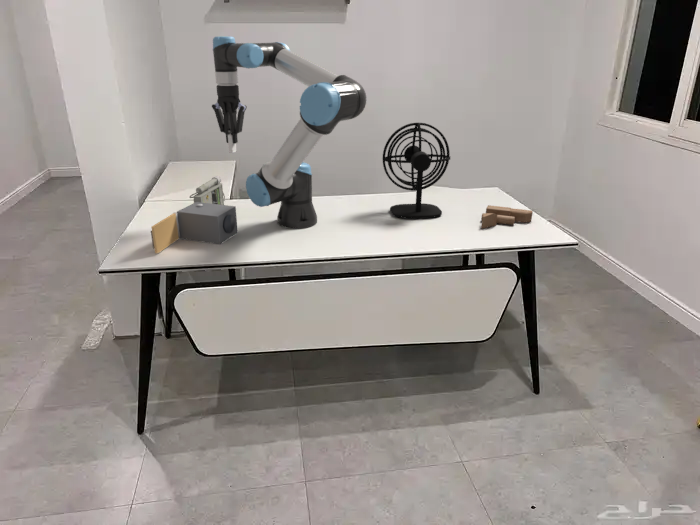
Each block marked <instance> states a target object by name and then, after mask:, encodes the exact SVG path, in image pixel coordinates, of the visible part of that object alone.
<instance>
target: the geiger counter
mask: <svg viewBox="0 0 700 525" xmlns="http://www.w3.org/2000/svg"><path fill="white" fill-rule="evenodd" d="M189 199H193V203H195V202H202V203H210V204H219V205H225V202H226V196H225V193H224V188H223V183H222V178H221V177H220V176H219V175H215V176H213V177H212V178H211V179H210V180H208V181H206V182H205V183H203V184H202V185H199V186H197V187H196V189H195V193H192V194H191V195H189Z"/></svg>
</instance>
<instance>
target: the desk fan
mask: <svg viewBox="0 0 700 525" xmlns="http://www.w3.org/2000/svg"><path fill="white" fill-rule="evenodd" d="M413 126H414V127H413ZM422 126H425V127H429V128H431V129H433V130H434V131H436V132H437V133H438V134H439V136H440V137H441V138H442V140H443V141H444V144H443V142H442V141H441V139H440V138H439V137H438V136H437V135H436V134H435V133H433V132H432V131H430V130H428V129H426V128H423V127H422ZM409 127H412V128H409ZM402 130H403V131H402ZM417 132H418V135H417ZM422 133H427V134H430V135H431V136H432V137H433V138H434V139H435V140H436V142H437V143H438V147H439V151H440V153H438V151H437V148H436V147H435V146H434V145H433V144H432V143H431V142H429V141H428V140H427V139H426V138H424V137H422ZM409 134H413V135H412V136H411V135H409ZM407 135H409V136H408V137H406V136H407ZM404 137H405V138H404ZM403 138H404V139H403ZM411 138H412V141H410V142H408V143H407V144H406V145H405V146H404V147H403V148H402V150H401V151H400V154H397V153H398V149H399V148H400V146H401V145H402V144H403V143H404V142H405V141H407V140H408V139H411ZM416 138H418V139H416ZM401 139H403V140H401ZM399 141H400V142H399ZM416 142H418V146H417V145H416ZM422 142H424V143H427V144H428V147H429V149H430V154H429V153H426V152H425V151H422ZM397 144H398V145H397ZM411 144H412V145H411ZM396 145H397V147H396ZM444 145H445V147H444ZM395 147H396V148H395ZM445 148H446V149H445ZM387 149H388V150H387ZM433 149H434V151H435V153H433V152H434V151H433ZM394 150H395V153H394V155H392V154H393V152H394ZM386 152H387V153H386ZM386 155H387V156H386ZM397 158H398V159H397ZM402 158H404V160H403V159H402ZM433 158H436V159H433ZM450 160H451V156H450V147H449V143H448V140H447V139H446V137H445V136H444V134H443V133H442V132H441V131H440V130H439V129H438V128H437V127H435V126H433V125H431V124H430V123H425V122H411V123H408V124H405V125H403V126H401V127H399V128H398V129H396V130H395V131H394V132H393V133H392V134H391V135H390V136H389V137H388V139H387V141H386V143H385V145H384V148H383V152H382V167H383V170H384V172H385V174H386V176H387V178H388V179H389V180H390V181H391V182H392V184H394V185H395V186H396V187H398V188H401V189H403V190H405V191H414V192H416V193H415V194H416V197H415V203H401V204H395V205H392V206H390V208H389V212H390V213H391V214H392V216H394V217H396V218H401V219H429V218H430V219H431V218H437V217H439V216H441V215H443V211H442V210H441V208H440V207H439V206H437V205H435V204H431V203H422V197H423V196H422V195H423V190H425V189H427V188H430V187H432V186H433V185H434V184H436V183H437V182H438V181H439V180H441V178H442V177H443V175H444V174H445V172H446V170H447V168H448V166H449V163H450ZM386 162H387V165H388V168H389V171H390V172H391V174H392V175H393V176H394V178H396V180H397V181H399V182H400V183H402V184H403V185H406V186H403V185H401V184H399V183H398V182H396V181H395V180H394V179H393V178H392V177H391V176H390V174H389V172H388V169H387V165H386ZM392 163H395V164H396V166H397V167H398V169H400V170H401V171H402V173H403V175H404V176H407V178H410V179H411V181H409V180H404V179H402V178H400V177H399V176H398V175H397V174H396V172H395V171H394V169H393V166H392ZM432 163H435V165H434V167H433V169H432V170H431V171H430V172H429V173H427V174H426V175H424V172H426V171H427V170H428V169H429V168H430V167H431V164H432ZM402 164H410V166H411V168H410V169H411V170H410V172H409V171H406V170H404V169H403V166H402ZM415 170H416V171H415ZM414 171H415V172H414ZM409 174H410V175H409ZM415 175H416V177H415ZM415 180H416V181H415ZM407 186H409V187H407Z"/></svg>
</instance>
